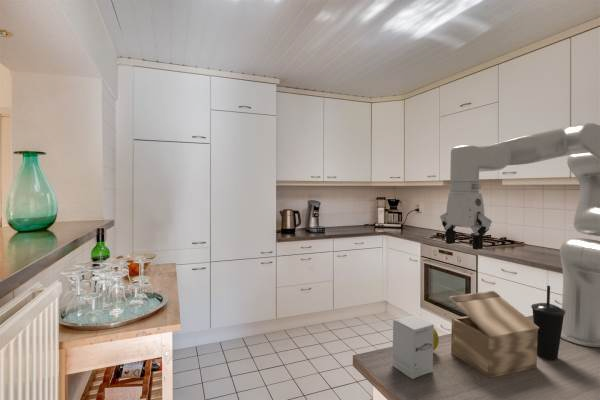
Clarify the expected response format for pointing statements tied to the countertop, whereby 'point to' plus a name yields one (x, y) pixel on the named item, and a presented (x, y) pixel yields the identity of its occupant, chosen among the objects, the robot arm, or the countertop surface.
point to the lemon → (435, 340)
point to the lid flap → (493, 314)
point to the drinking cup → (548, 328)
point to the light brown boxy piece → (493, 349)
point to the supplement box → (413, 346)
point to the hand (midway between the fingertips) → (463, 246)
